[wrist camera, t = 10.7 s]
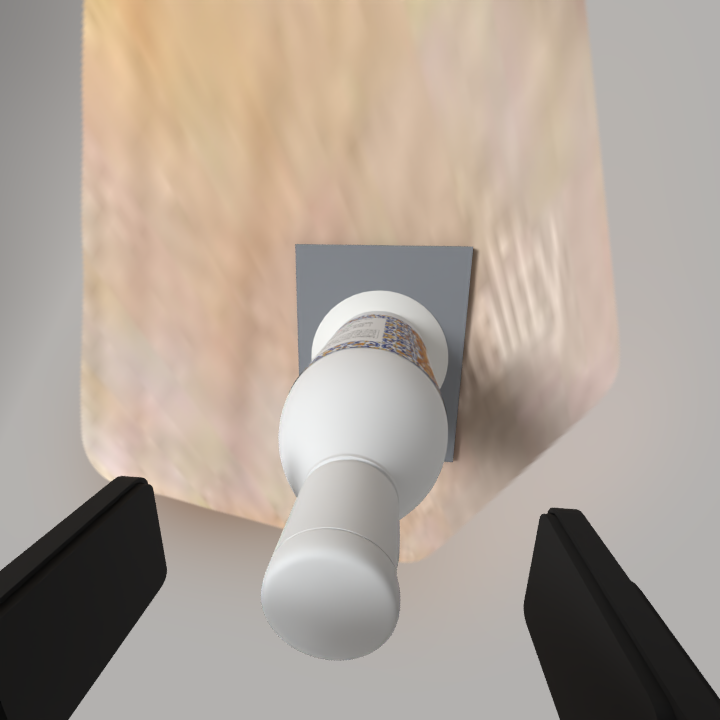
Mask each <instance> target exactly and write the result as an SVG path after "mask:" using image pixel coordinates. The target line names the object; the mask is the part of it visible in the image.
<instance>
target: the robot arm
mask: <svg viewBox="0 0 720 720" xmlns="http://www.w3.org/2000/svg"><path fill="white" fill-rule="evenodd" d="M166 574H167V567H166V561H165V555H164V550H163V544H162V538H161V532H160V527H159V520H158V514H157V509H156V503H155V498H154V491H153V488H152V486H151V485H149V484H148V482H147V480H146V479H145V478H141V477H127V476H120V477H117V478H115V479H114V480H113V481H111V482H110V483H109V484H108V485H107V486H105V487H104V488H103V489H101V490H100V491H99V492H98V493H96V494H95V495H94V496H93V497H91V498H90V499H89V500H88V501H86V502H85V503H84V504H83V505H82V506H80V507H79V508H78V509H77V510H75V511H74V512H73V513H72V514H70V515H69V516H68V517H67V518H65V519H64V520H63V521H62V522H60V523H59V524H58V525H57V526H56V527H54V528H53V529H52V530H50V531H49V532H48V533H47V534H45V535H44V536H43V537H42V538H40V539H39V540H38V541H37V542H36V543H34V544H33V545H32V546H31V547H29V548H28V549H27V550H26V551H24V552H23V553H22V554H21V555H20V556H18V557H17V558H16V559H14V560H13V561H12V562H11V563H10V564H8V565H7V566H6V567H4V568H3V569H2V570H1V571H0V720H68V719H69V718H70V717H71V715H72V714H73V712H74V711H75V709H76V708H77V707H78V705H79V704H80V702H81V701H82V699H83V698H84V697H85V695H86V694H87V692H88V691H89V689H90V688H91V686H92V685H93V684H94V682H95V681H96V679H97V678H98V677H99V675H100V674H101V672H102V671H103V670H104V668H105V667H106V665H107V664H108V662H109V661H110V660H111V658H112V657H113V655H114V654H115V652H116V651H117V650H118V648H119V647H120V645H121V644H122V642H123V641H124V639H125V638H126V637H127V635H128V634H129V632H130V631H131V630H132V628H133V627H134V625H135V624H136V622H137V621H138V620H139V618H140V617H141V615H142V614H143V613H144V611H145V609H146V608H147V607H148V605H149V604H150V602H151V601H152V599H153V598H154V597H155V595H156V594H157V592H158V591H159V590H160V588H161V587H162V585H163V583H164V581H165V578H166ZM524 616H525V620H526V624H527V627H528V630H529V633H530V635H531V638H532V641H533V644H534V647H535V650H536V653H537V655H538V658H539V661H540V664H541V667H542V670H543V673H544V675H545V678H546V681H547V684H548V687H549V690H550V692H551V695H552V698H553V701H554V704H555V707H556V710H557V712H558V715H559V718H560V720H720V699H719V697H718V696H717V694H716V693H715V692H714V690H713V689H712V688H711V686H710V685H709V684H708V682H707V681H706V679H705V678H704V677H703V675H702V674H701V672H699V670H698V668H697V667H696V666H695V664H694V663H693V661H692V660H691V659H690V657H689V656H688V655H687V653H686V652H685V650H684V649H683V648H682V646H681V645H680V643H679V642H678V641H677V639H676V638H675V636H674V635H673V634H672V632H671V631H670V630H669V628H668V627H667V625H666V624H665V623H664V621H663V620H662V619H661V617H660V616H659V614H658V613H657V612H656V610H655V609H654V607H653V606H652V605H651V603H650V602H649V601H648V599H647V598H646V596H645V595H644V594H643V592H642V591H641V590H640V589H639V588H638V586H637V585H636V584H635V583H633V582H632V581H631V580H630V579H629V578H628V576H627V575H626V573H625V572H624V571H623V569H622V568H621V566H620V565H619V564H618V562H617V561H616V560H615V558H614V557H613V555H612V554H611V553H610V551H609V550H608V548H607V547H606V545H605V544H604V543H603V541H602V540H601V539H600V537H599V536H598V534H597V533H596V531H595V530H594V529H593V527H592V526H591V525H590V523H589V522H588V520H587V519H586V517H585V516H584V515H583V514H582V512H581V511H579V510H577V509H563V508H550V509H549V511H548V513H547V514H542V515H541V516H540V519H539V525H538V530H537V535H536V541H535V547H534V551H533V557H532V563H531V567H530V573H529V579H528V584H527V589H526V594H525V600H524Z"/></svg>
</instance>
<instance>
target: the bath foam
mask: <svg viewBox="0 0 720 720" xmlns="http://www.w3.org/2000/svg"><path fill="white" fill-rule="evenodd" d="M447 442H448V420H447V412H446V408H445V404H444V401H443V398H442V395H441V392H440V389H439V386H438V383H437V380H436V377H435V374H434V371H433V368H432V364H431V361H430V358H429V355H428V352H427V349H426V347H425V344H424V341H423V339H422V337H421V335H420V334H419V332H418V331H417V329H416V328H415V327H414V326H413V325H412V324H411V323H410V322H409V321H407V320H406V319H405V318H403V317H401V316H399V315H397V314H394V313H391V312H386V311H369V312H364V313H361V314H358V315H356V316H354V317H352V318H351V319H349V320H348V321H347V322H345V323H344V324H343V325H342V326H341V327H340V328H339V330H338V331H337V332H336V333H335V334H334V335H333V336H332V338H331V339H330V340H329V341H328V342H327V343H326V345H325V346H324V347H323V348H322V349H321V351H320V352H319V353H318V354H317V355H316V357H315V358H314V359H313V360H312V361H311V362H310V364H309V365H308V366H307V367H306V368H305V370H304V371H303V372H302V373H301V374H300V376H299V377H298V378H297V380H296V381H295V383H294V384H293V386H292V388H291V390H290V392H289V395H288V397H287V399H286V402H285V404H284V407H283V411H282V415H281V419H280V425H279V453H280V458H281V462H282V466H283V470H284V473H285V475H286V478H287V480H288V482H289V484H290V486H291V488H292V490H293V492H294V494H295V495H296V497H297V499H296V501H295V503H294V506H293V508H292V510H291V513H290V515H289V518H288V520H287V522H286V525H285V527H284V529H283V532H282V534H281V537H280V539H279V542H278V544H277V546H276V548H275V551H274V553H273V556H272V558H271V560H270V563H269V565H268V568H267V570H266V573H265V576H264V579H263V583H262V590H261V604H262V608H263V612H264V614H265V617H266V619H267V621H268V623H269V625H270V626H271V628H272V629H273V630H274V632H275V633H276V634H277V635H278V636H279V637H280V638H281V639H282V640H283V641H285V642H286V643H287V644H288V645H290V646H291V647H293V648H294V649H296V650H298V651H300V652H302V653H305V654H307V655H310V656H313V657H317V658H320V659H326V660H351V659H355V658H359V657H363V656H365V655H368V654H370V653H372V652H373V651H375V650H377V649H378V648H379V647H381V646H382V645H383V644H384V643H385V642H386V641H387V640H388V639H389V637H390V636H391V635H392V633H393V631H394V629H395V627H396V624H397V621H398V617H399V611H400V588H399V583H398V579H397V566H398V561H399V549H400V523H399V520H400V519H402V518H403V517H404V516H406V515H407V514H408V513H410V512H411V511H412V510H413V509H414V508H415V507H416V506H418V505H419V504H420V503H421V502H422V500H423V499H424V498H425V497H426V496H427V494H428V493H429V492H430V490H431V489H432V487H433V486H434V484H435V482H436V480H437V478H438V476H439V474H440V472H441V469H442V466H443V463H444V459H445V455H446V450H447Z"/></svg>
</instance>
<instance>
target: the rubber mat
mask: <svg viewBox="0 0 720 720" xmlns="http://www.w3.org/2000/svg"><path fill="white" fill-rule="evenodd" d="M295 249H296V283H297V318H298V353H299V376H300V374H301V373H302V372H303V371H304V370H305V368H306V367H307V366H308V365H309V364H310V362H311V361H312V360H313V359H314V358H315V357H316V355H317V354H318V353H319V352H320V351H321V349H322V348H323V347H324V346H325V345H326V343H327V342H328V341H329V340H330V339H331V338H332V336H333V335H334V334H335V333H336V332H337V331H338V330H339V328H340V327H341V326H342V325H343V324H344V323H345V322H347V321H348V320H349V319H351V318H352V317H354V316H356V315H358V314H361V313H364V312H369V311H386V312H391V313H394V314H397V315H399V316H401V317H403V318H405V319H406V320H407V321H409V322H410V323H411V324H412V325H413V326H414V327H415V328H416V329H417V331H418V332H419V334H420V335H421V337H422V339H423V341H424V344H425V347H426V349H427V352H428V355H429V358H430V361H431V364H432V368H433V371H434V374H435V377H436V380H437V383H438V386H439V389H440V392H441V395H442V398H443V401H444V404H445V408H446V412H447V420H448V442H447V450H446V455H445V459H444V462H453V454H454V444H455V433H456V423H457V412H458V402H459V391H460V381H461V370H462V359H463V349H464V338H465V328H466V317H467V307H468V296H469V286H470V275H471V264H472V254H473V247H461V246H388V245H315V244H295Z"/></svg>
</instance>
